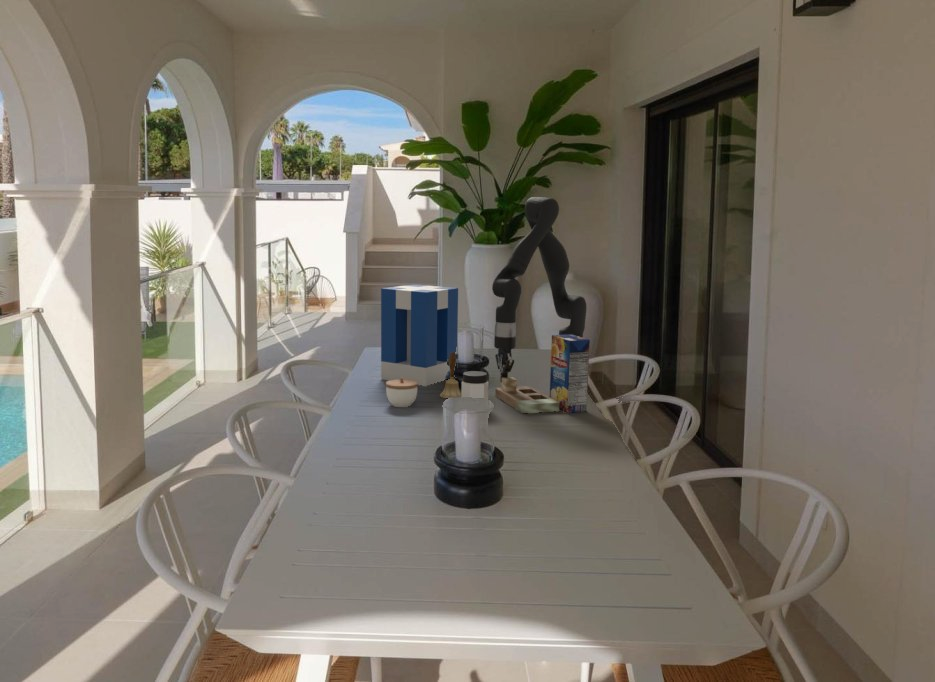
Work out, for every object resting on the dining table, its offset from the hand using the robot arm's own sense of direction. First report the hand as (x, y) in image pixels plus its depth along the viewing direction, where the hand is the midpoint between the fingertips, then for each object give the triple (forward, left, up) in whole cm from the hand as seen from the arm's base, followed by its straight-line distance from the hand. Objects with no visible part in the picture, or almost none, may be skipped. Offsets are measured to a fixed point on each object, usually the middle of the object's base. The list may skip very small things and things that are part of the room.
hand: (503, 382), depth 281 cm
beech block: (0, +4, -2) cm, 5 cm away
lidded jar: (+38, +4, -5) cm, 39 cm away
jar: (+16, +15, -5) cm, 23 cm away
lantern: (+21, -36, -5) cm, 42 cm away
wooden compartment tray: (-3, +13, -5) cm, 14 cm away
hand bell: (+18, -4, -5) cm, 19 cm away
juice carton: (-14, +22, -5) cm, 27 cm away
